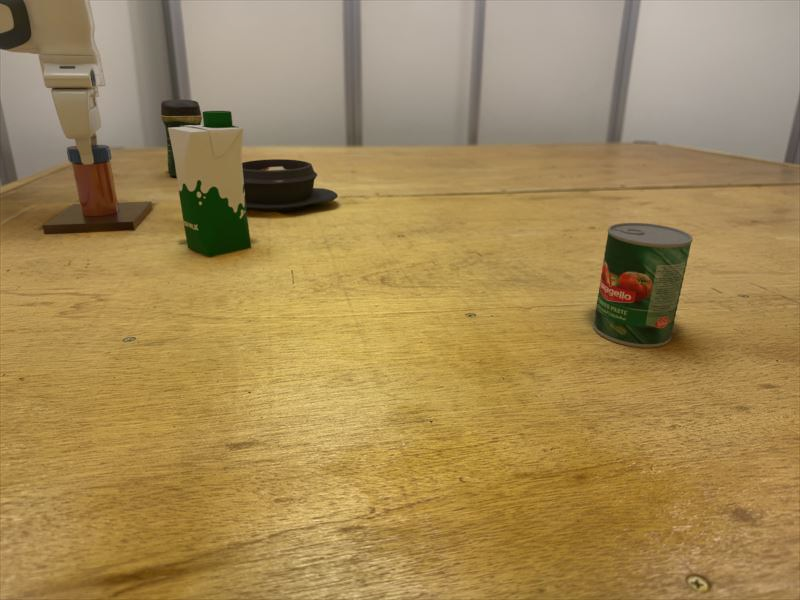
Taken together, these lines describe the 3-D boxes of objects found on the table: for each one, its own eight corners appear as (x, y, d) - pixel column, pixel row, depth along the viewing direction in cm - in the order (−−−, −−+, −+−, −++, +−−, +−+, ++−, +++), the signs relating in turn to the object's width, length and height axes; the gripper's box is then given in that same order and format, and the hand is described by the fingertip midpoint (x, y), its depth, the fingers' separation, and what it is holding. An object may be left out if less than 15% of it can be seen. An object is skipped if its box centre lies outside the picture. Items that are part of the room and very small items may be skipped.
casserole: (213, 222, 100) (207, 175, 97) (211, 200, 116) (206, 160, 113) (347, 213, 107) (346, 169, 104) (328, 194, 123) (326, 155, 120)
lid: (64, 163, 92) (61, 149, 92) (76, 158, 98) (73, 144, 97) (105, 162, 94) (103, 149, 93) (115, 157, 100) (112, 144, 99)
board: (44, 234, 92) (42, 225, 91) (75, 211, 106) (73, 203, 105) (134, 230, 94) (132, 221, 94) (152, 208, 109) (151, 201, 108)
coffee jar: (171, 179, 138) (160, 100, 131) (167, 174, 144) (156, 98, 137) (211, 176, 142) (202, 100, 135) (205, 171, 149) (196, 98, 142)
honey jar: (77, 217, 96) (63, 152, 92) (88, 209, 102) (75, 147, 97) (114, 215, 97) (102, 151, 93) (122, 207, 103) (111, 147, 99)
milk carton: (259, 248, 86) (247, 112, 78) (204, 260, 80) (185, 115, 72) (231, 236, 91) (217, 109, 84) (178, 247, 85) (158, 111, 78)
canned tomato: (681, 330, 60) (703, 232, 56) (656, 355, 54) (678, 249, 50) (609, 310, 65) (625, 218, 60) (580, 331, 59) (595, 232, 55)
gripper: (61, 74, 98) (78, 153, 104) (40, 75, 81) (61, 170, 86) (100, 74, 101) (115, 152, 106) (88, 75, 83) (106, 168, 88)
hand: (91, 160), depth 96 cm, fingers closed on lid, 6 cm apart
